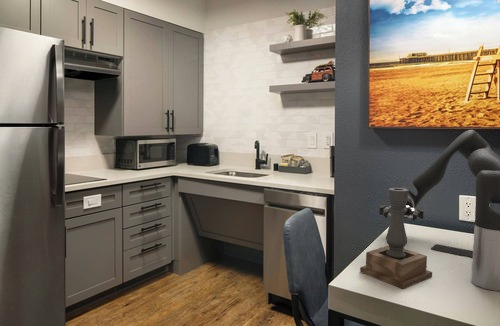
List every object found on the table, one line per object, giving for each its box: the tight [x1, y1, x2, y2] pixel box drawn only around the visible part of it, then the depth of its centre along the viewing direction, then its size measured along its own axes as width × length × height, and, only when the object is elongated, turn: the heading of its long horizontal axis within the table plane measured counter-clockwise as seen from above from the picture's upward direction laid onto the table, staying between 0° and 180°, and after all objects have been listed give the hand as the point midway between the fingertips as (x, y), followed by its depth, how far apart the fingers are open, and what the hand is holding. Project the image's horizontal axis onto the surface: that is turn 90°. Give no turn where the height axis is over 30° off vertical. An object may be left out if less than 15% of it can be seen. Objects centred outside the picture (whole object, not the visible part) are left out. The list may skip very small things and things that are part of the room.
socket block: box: [359, 245, 433, 290], centre depth 115 cm, size 15×15×6 cm
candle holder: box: [385, 187, 409, 260], centre depth 114 cm, size 6×6×25 cm
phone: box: [430, 243, 473, 259], centre depth 136 cm, size 7×1×15 cm
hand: (399, 216), depth 124 cm, fingers open, 8 cm apart
